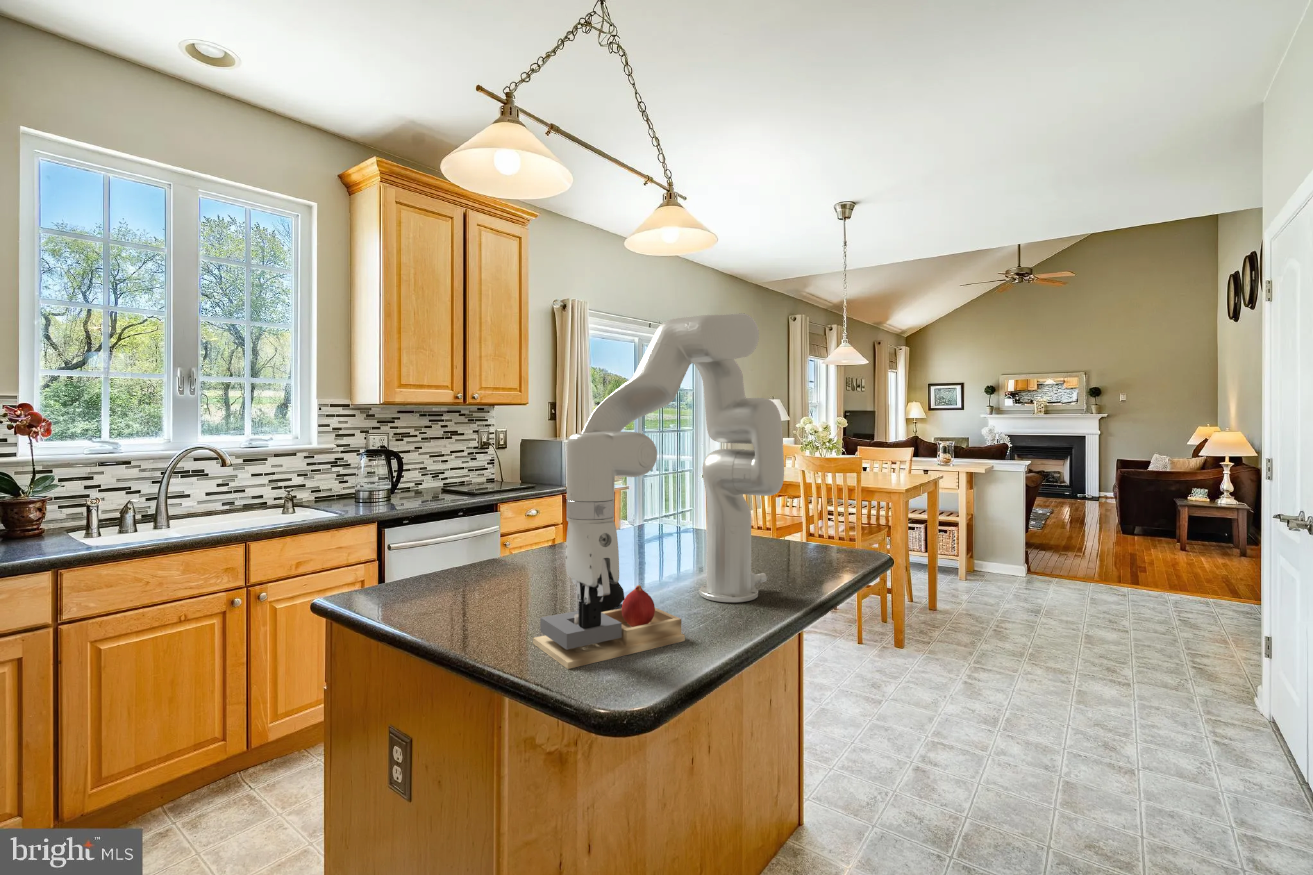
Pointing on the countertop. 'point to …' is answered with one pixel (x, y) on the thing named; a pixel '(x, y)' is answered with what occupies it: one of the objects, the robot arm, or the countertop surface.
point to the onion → (638, 607)
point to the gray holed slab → (578, 630)
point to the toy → (612, 597)
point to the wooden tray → (617, 640)
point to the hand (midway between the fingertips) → (589, 625)
